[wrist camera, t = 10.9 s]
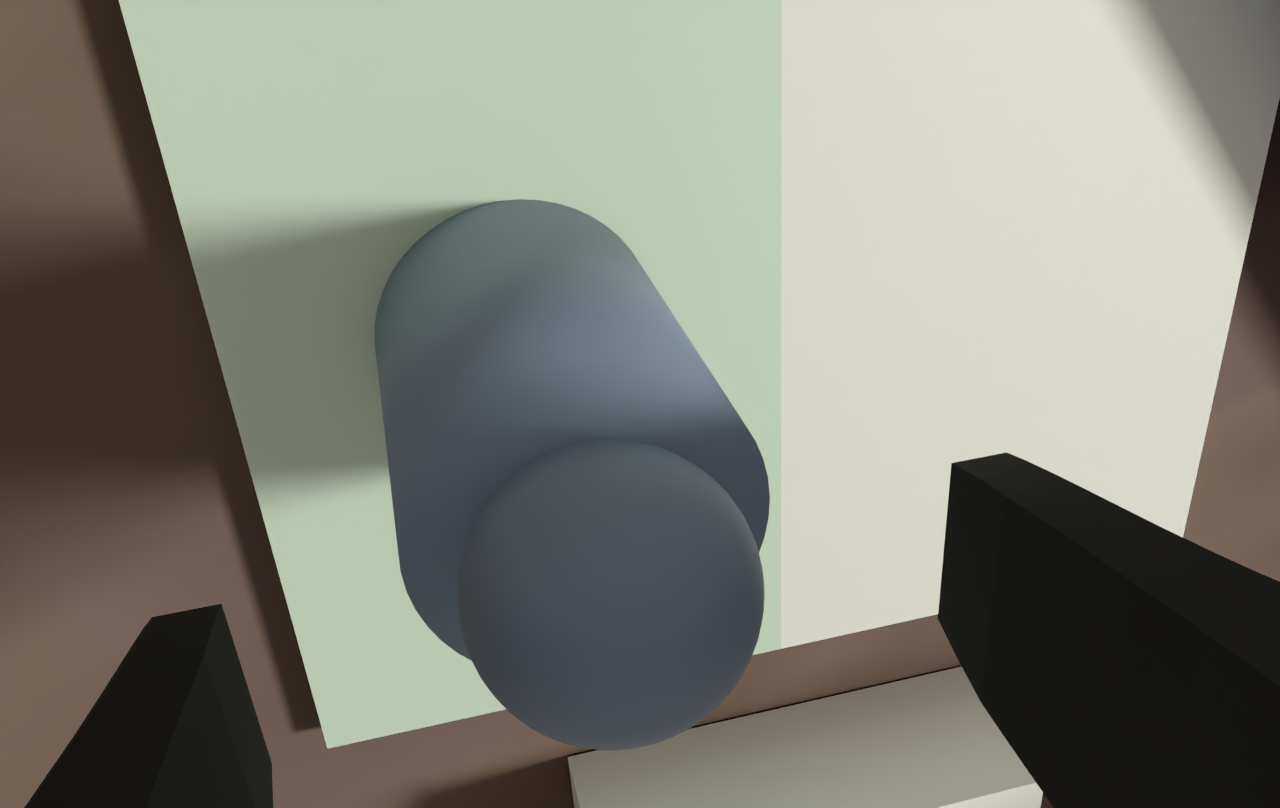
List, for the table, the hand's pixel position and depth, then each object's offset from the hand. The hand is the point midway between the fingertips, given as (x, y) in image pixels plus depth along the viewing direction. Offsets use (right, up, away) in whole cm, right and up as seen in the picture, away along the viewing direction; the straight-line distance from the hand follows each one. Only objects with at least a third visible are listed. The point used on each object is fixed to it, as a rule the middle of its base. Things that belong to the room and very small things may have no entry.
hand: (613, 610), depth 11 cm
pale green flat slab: (+2, +4, +6) cm, 8 cm away
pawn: (-1, +3, +5) cm, 6 cm away
